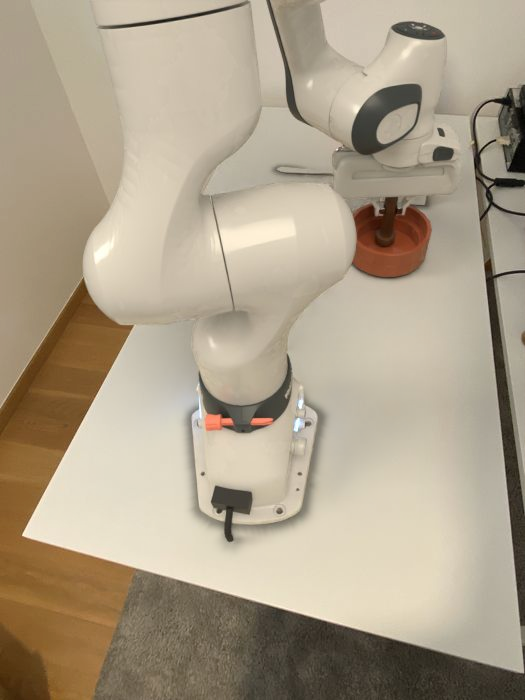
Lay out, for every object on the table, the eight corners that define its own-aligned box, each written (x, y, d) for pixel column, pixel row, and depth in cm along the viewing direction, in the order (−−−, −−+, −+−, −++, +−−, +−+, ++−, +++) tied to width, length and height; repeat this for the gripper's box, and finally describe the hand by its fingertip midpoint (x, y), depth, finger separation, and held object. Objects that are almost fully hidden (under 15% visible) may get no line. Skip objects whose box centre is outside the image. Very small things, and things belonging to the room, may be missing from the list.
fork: (279, 165, 112) (278, 157, 110) (388, 178, 106) (389, 171, 104) (275, 173, 110) (274, 166, 108) (385, 187, 104) (387, 180, 103)
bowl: (431, 278, 88) (438, 253, 83) (348, 281, 90) (351, 256, 85) (418, 224, 97) (424, 199, 92) (343, 227, 98) (345, 202, 93)
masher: (395, 246, 92) (406, 188, 82) (376, 246, 92) (384, 189, 82) (393, 232, 94) (403, 175, 84) (374, 233, 94) (381, 176, 84)
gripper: (333, 156, 76) (330, 227, 87) (472, 149, 74) (451, 223, 85) (331, 133, 80) (329, 204, 91) (463, 126, 78) (444, 199, 89)
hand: (389, 213), depth 88 cm, fingers closed on masher, 2 cm apart
